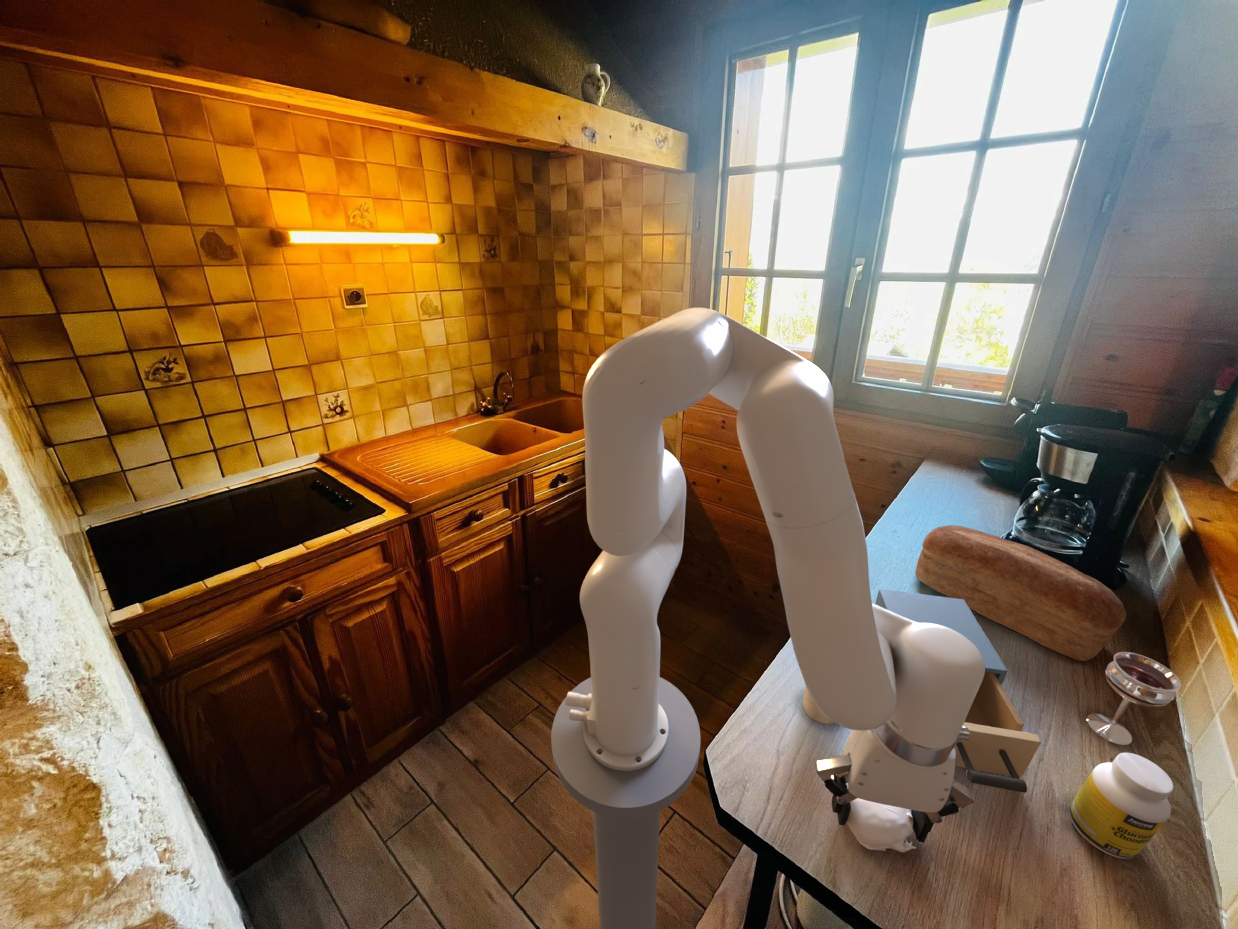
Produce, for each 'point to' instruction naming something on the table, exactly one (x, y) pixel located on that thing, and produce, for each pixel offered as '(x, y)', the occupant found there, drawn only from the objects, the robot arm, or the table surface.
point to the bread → (1021, 589)
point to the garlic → (880, 825)
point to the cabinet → (944, 620)
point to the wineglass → (1134, 691)
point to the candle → (814, 710)
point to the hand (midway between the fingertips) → (877, 820)
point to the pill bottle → (1122, 805)
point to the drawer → (995, 740)
